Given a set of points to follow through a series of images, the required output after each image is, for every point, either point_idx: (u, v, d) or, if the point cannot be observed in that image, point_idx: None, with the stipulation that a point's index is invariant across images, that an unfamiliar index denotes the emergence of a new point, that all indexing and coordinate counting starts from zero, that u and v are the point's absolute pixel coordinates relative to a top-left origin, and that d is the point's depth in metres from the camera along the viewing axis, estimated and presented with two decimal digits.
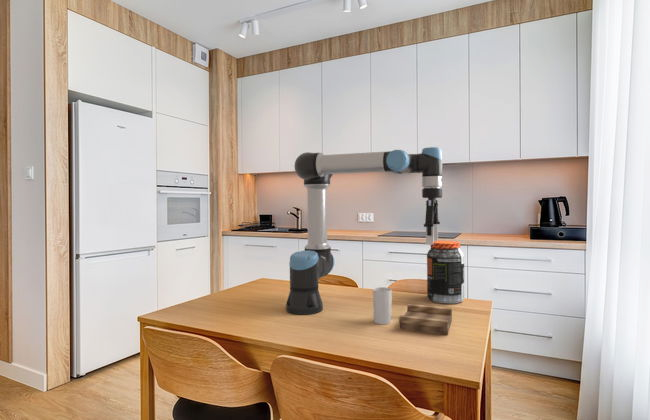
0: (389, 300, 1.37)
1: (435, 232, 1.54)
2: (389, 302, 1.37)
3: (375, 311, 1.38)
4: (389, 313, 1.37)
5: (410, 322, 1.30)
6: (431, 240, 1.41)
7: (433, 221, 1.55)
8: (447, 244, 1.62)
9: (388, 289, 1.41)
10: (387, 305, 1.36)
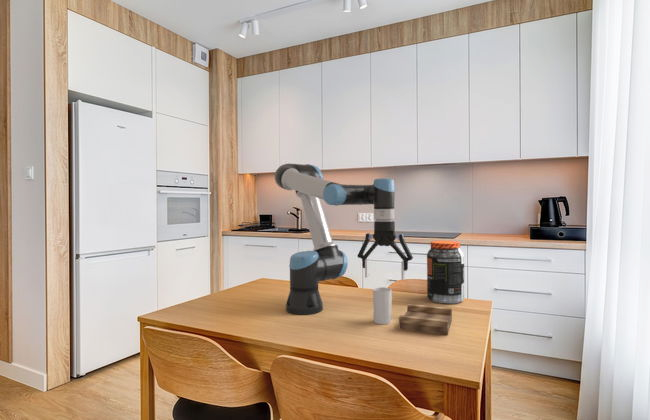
0: (389, 300, 1.37)
1: None
2: (389, 302, 1.37)
3: (375, 311, 1.38)
4: (389, 313, 1.37)
5: (410, 322, 1.30)
6: None
7: None
8: (447, 244, 1.62)
9: (388, 289, 1.41)
10: (387, 305, 1.36)
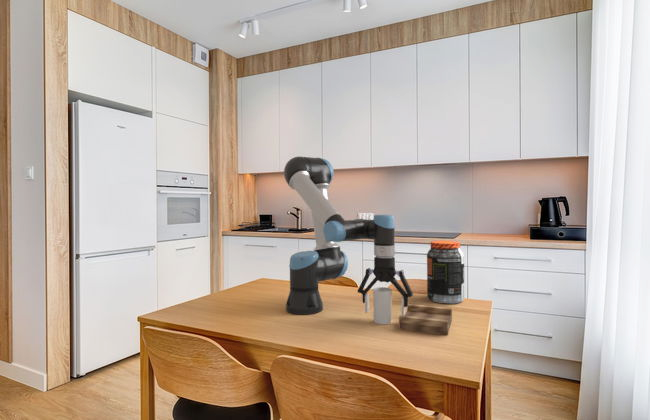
0: (389, 300, 1.37)
1: None
2: (389, 302, 1.37)
3: (375, 311, 1.38)
4: (389, 313, 1.37)
5: (410, 322, 1.30)
6: None
7: None
8: (447, 244, 1.62)
9: (388, 289, 1.41)
10: (387, 305, 1.36)
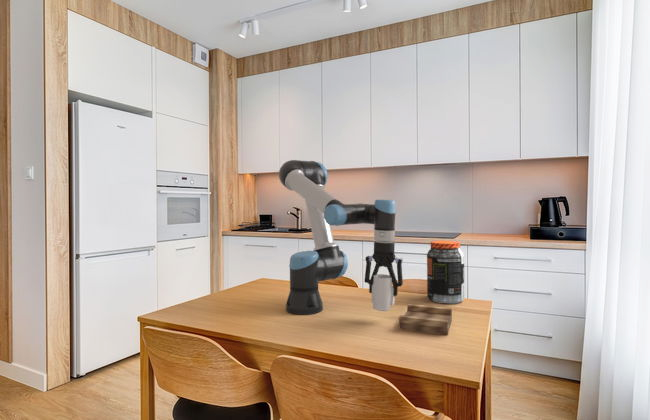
0: (389, 287, 1.37)
1: None
2: (389, 289, 1.37)
3: (375, 297, 1.38)
4: (389, 300, 1.38)
5: (410, 322, 1.30)
6: None
7: None
8: (447, 244, 1.62)
9: (389, 276, 1.41)
10: (387, 292, 1.37)
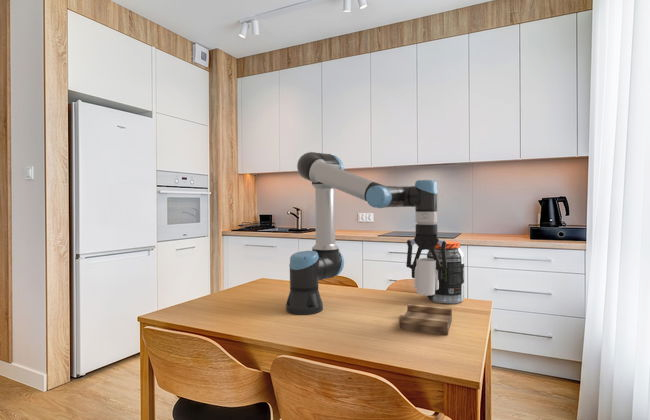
0: (434, 270, 1.31)
1: None
2: (434, 272, 1.32)
3: (419, 282, 1.32)
4: (434, 284, 1.32)
5: (410, 322, 1.30)
6: None
7: None
8: (447, 244, 1.62)
9: (432, 260, 1.35)
10: (432, 275, 1.31)
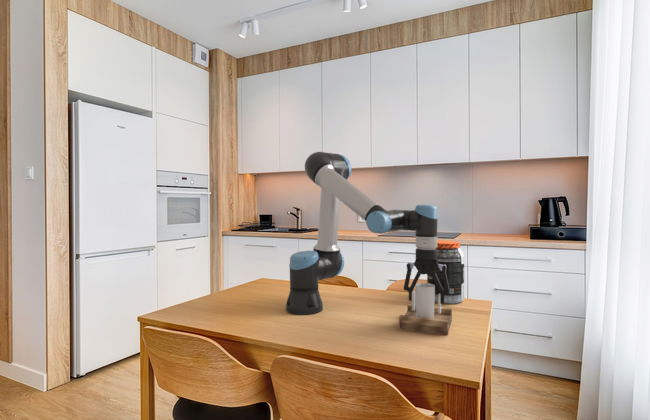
0: (433, 296, 1.32)
1: (438, 303, 1.34)
2: (433, 298, 1.32)
3: (418, 308, 1.33)
4: (433, 310, 1.32)
5: (410, 322, 1.30)
6: None
7: None
8: (447, 244, 1.62)
9: (431, 285, 1.36)
10: (431, 301, 1.31)
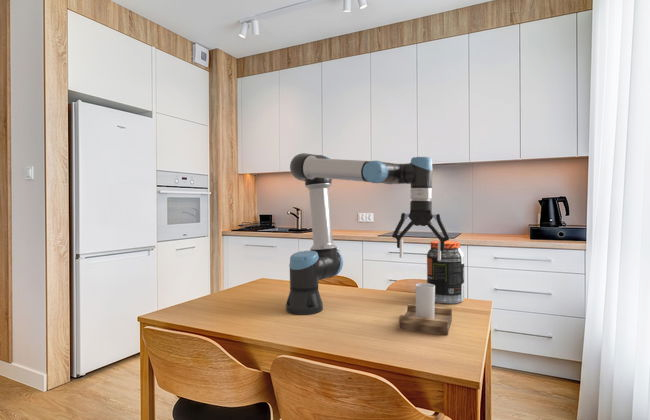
0: (433, 296, 1.32)
1: (438, 250, 1.35)
2: (433, 298, 1.32)
3: (418, 308, 1.33)
4: (433, 310, 1.32)
5: (410, 322, 1.30)
6: None
7: (441, 238, 1.35)
8: (447, 244, 1.62)
9: (431, 285, 1.36)
10: (431, 301, 1.31)
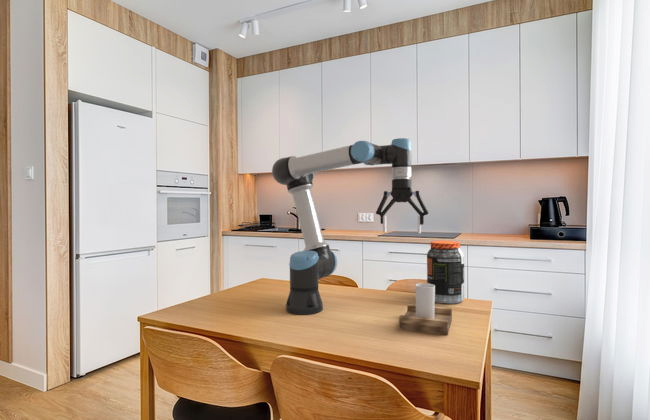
0: (433, 296, 1.32)
1: (418, 224, 1.46)
2: (433, 298, 1.32)
3: (418, 308, 1.33)
4: (433, 310, 1.32)
5: (410, 322, 1.30)
6: None
7: None
8: (447, 244, 1.62)
9: (431, 285, 1.36)
10: (431, 301, 1.31)
